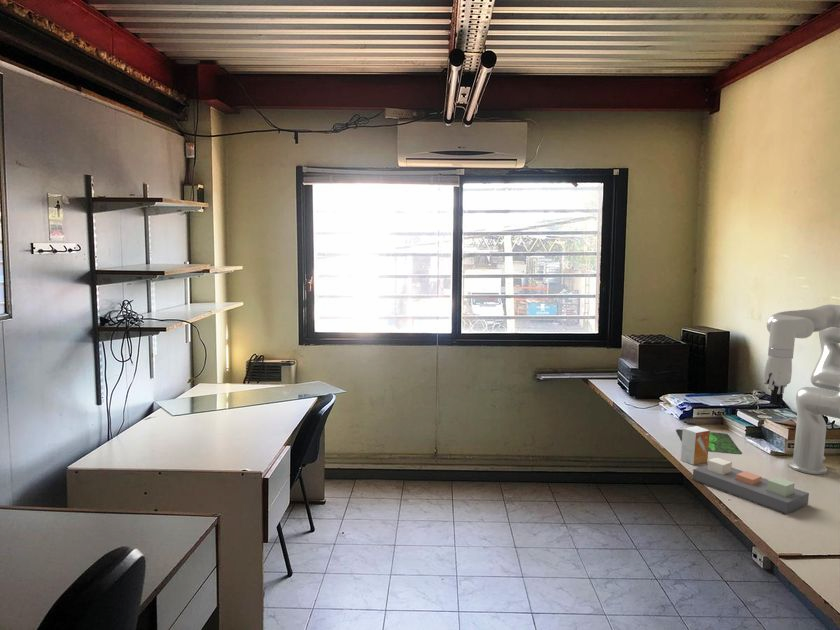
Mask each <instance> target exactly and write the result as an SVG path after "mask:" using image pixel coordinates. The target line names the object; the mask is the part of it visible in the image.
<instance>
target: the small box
mask: <svg viewBox="0 0 840 630" xmlns="http://www.w3.org/2000/svg"><path fill="white" fill-rule="evenodd" d="M682 430H683V434H682V441H681V449H680V458H679V459H680V461H683V462H685V463H687V464H690V465H693V466H695V465H698V464H704V463H705V464H706V463H708V460H709V457H708V456H709V452H708V448H709V436H710V432H711V430H709V429H707V428H705V427H701V426H698V425H695V426H689V427H683V428H682Z"/></svg>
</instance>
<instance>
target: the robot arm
mask: <svg viewBox="0 0 840 630" xmlns="http://www.w3.org/2000/svg"><path fill="white" fill-rule="evenodd" d="M766 328H767V331H768V333H769V339H768V340H769V341H768V349H767V350H768V352H767V359H766V362H765V369H764V374H763V384H764V385H768V386H767V390H769V391H770V401H769V402H770V403H769V404H770V405H774V406H782V405H783V398H784V393H785V388H786V387H788V385H789V384H791V382H792V381H791V380H792V374H793V373H792V371H793V359H794V352H795V351H794V350H795V342H796V339H807V338H809V337H811V336H812V335H813V333H816V332H818V337H819V342H820V343H819V344H820V349H821V351H820V356H819V358H818V360H817V362H816V364H815V367H814V369H813V371H812V373H811V376H810V383H811V385H813V386H804V387H801V388H800V389H798V391H797V392H796V395H795V402H796V403H795V405H796V424H795V425H796V427H795V436H794V445H793V446H794V448H793V455H792V459H790V460H788V462H787V465H788V467H789V468H791V469H793V470H795V471H797V472H801V473H805V474H810V475H824V474H827V472H828V468H827V467H826V466H824V464H823V463H824V461H825V460H826V456H825V455H824V454H825V447H826V437H827V436H826V435H827V423H826V420H825V418H824V417H823V416H825V417H829V418H834V419H840V304H823V305H820V306H817V307H814V308H808V309H807V308H806V309H799V310H797V309H796V310H786V311H785V310H784V311H780V312H776V313H774V314H771V316H770V317H769V318H768V319H767V322H766Z"/></svg>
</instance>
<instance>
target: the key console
mask: <svg viewBox="0 0 840 630" xmlns="http://www.w3.org/2000/svg"><path fill="white" fill-rule="evenodd" d="M707 466H708V464H706V465H703V466H699V467H696V468H693V470H692V481H695V482H697V483H699V484H702V485H706V486H709V487H710V488H713V489H716V490H719V491H721V492H724V493H727V494H730V495H731V496H735V497H738V498H740V499H743V500H745V501H747V502H751V503H754V504H757V505H759V506H762V507H764V508H767V509H770V510H772V511H774V512H777V513H781V514H783V515H788V514H790V513H793V512H795V511H797V510H800V509H802V508H804V507H806V506H808V505H809V495H810V493H809V492H807V491H804V490H801V489H797V488H796V487H794V494H792V495H790V496H787V497H784V496H781V495H778V494H775V493H772V492H769V491H767V487H768V480H769V479H767V478H764V477H762V476H761V483H758V484H756V485H753V486H752V485H749V484H746V483H743V482H741V481H738V480H736V474H739V473H741V472H744V470H740V469H737V468H734V467H731V472H730V473H727V474H725V475H721V474H718V473H715V472H712V471H709V470H707Z"/></svg>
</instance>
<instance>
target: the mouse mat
mask: <svg viewBox="0 0 840 630" xmlns="http://www.w3.org/2000/svg"><path fill="white" fill-rule="evenodd" d="M675 432H676V434H677V436H678V437H679V440H680V441H681V442H682V434H683V429H679V428H677V429H675ZM709 452H710V453H721V454H730V455H742V454H743V453H742V451H741V450H740V449H739V447H738V446H737V445H736V443H735V442H734V441H733V439H732V438H731V436H730V435H729V434H728V433H723V432H714V431H710V436H709V448H708V453H709Z"/></svg>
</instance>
